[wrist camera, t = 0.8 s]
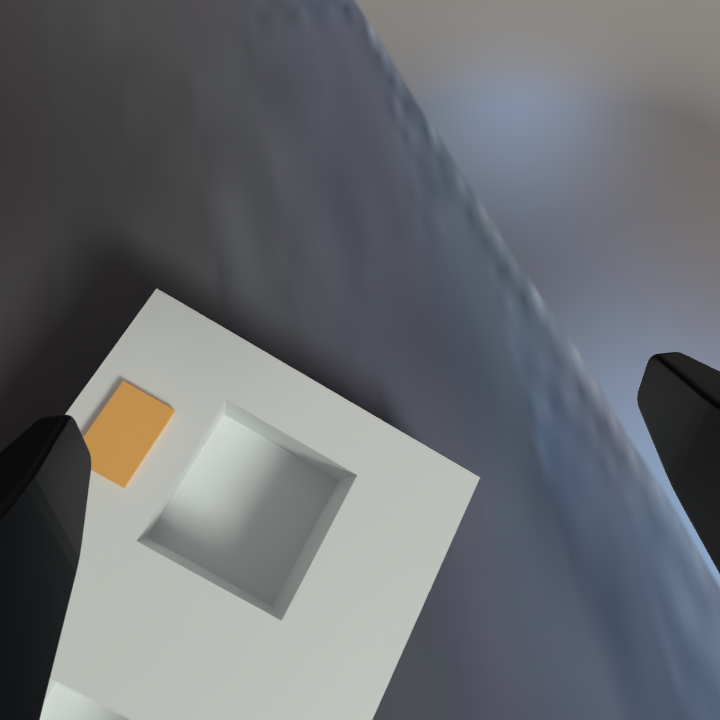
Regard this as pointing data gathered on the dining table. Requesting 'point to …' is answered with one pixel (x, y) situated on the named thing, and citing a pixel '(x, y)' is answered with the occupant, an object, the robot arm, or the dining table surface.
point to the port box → (241, 536)
